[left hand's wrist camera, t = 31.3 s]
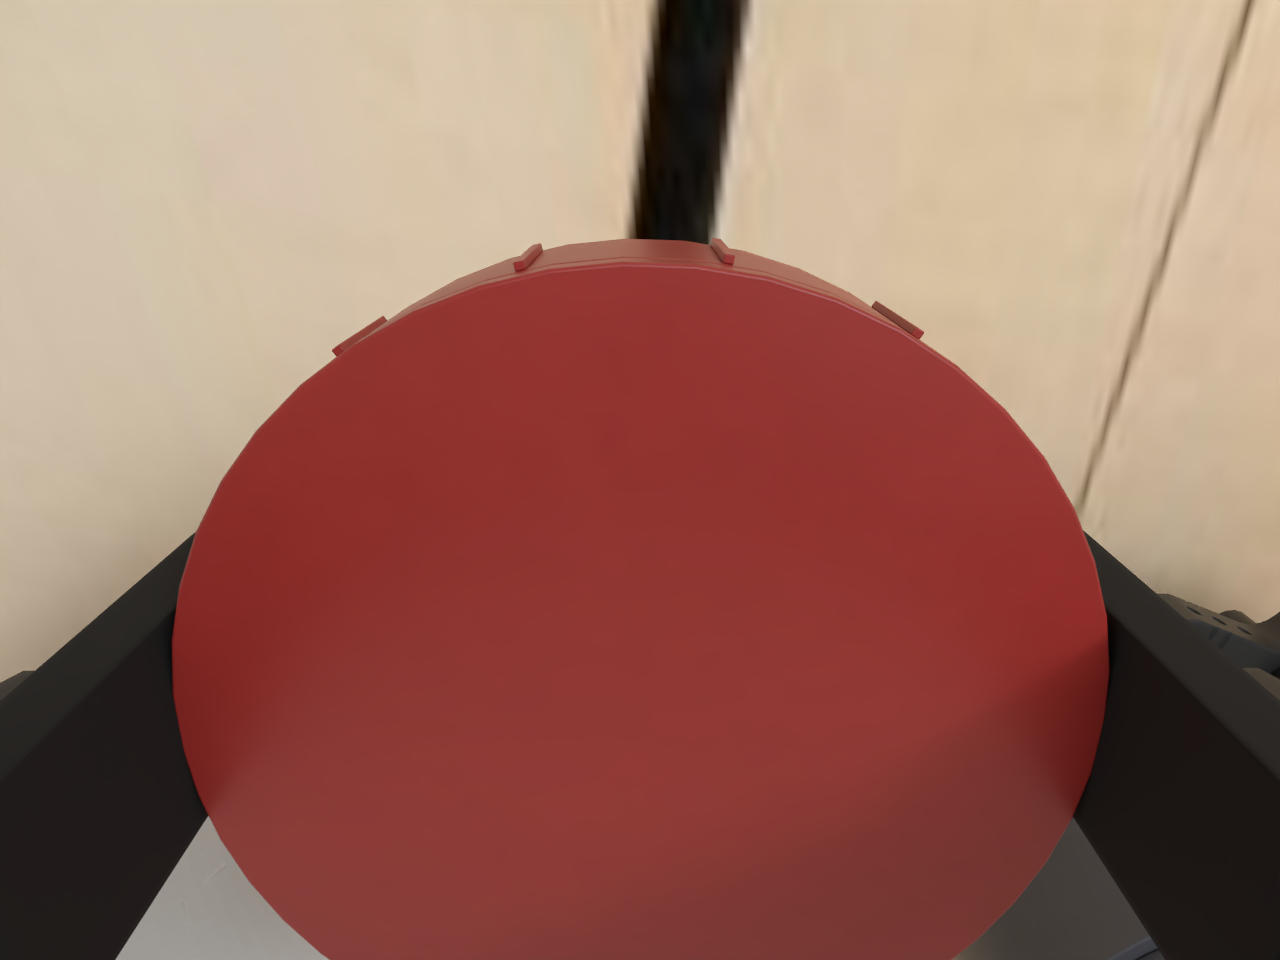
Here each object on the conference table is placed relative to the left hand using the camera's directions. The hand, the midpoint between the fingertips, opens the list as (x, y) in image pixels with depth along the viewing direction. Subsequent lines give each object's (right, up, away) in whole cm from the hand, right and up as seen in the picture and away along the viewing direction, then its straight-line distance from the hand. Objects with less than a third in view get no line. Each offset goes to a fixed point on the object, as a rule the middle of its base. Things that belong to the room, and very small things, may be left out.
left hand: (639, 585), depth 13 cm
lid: (0, -1, -3) cm, 3 cm away
